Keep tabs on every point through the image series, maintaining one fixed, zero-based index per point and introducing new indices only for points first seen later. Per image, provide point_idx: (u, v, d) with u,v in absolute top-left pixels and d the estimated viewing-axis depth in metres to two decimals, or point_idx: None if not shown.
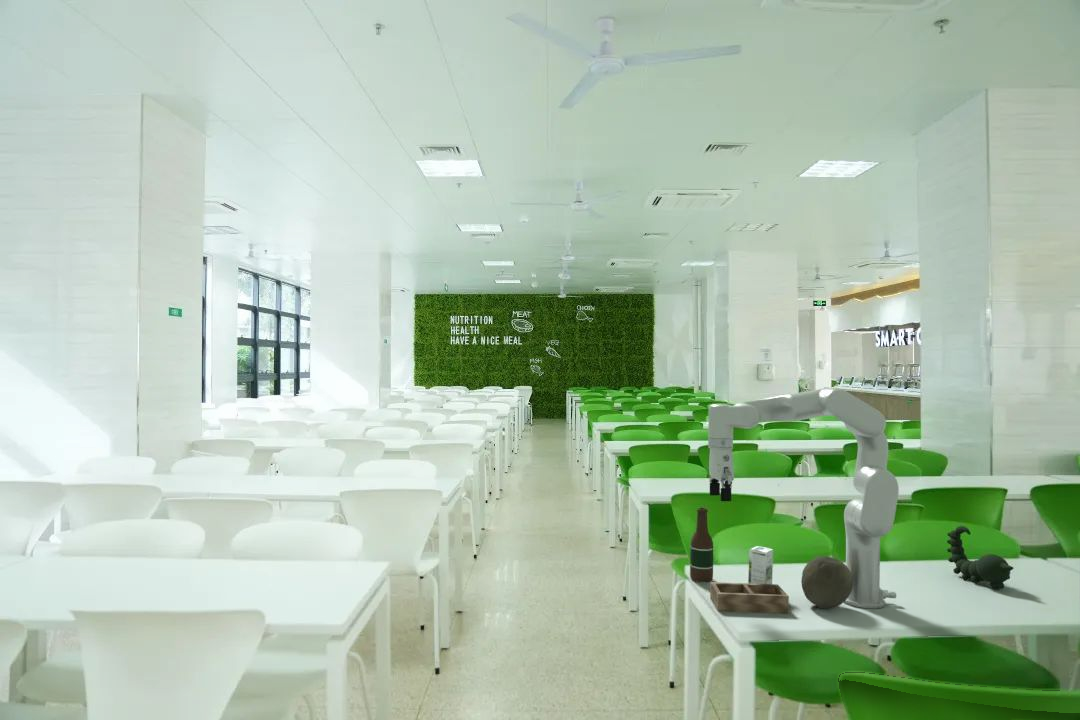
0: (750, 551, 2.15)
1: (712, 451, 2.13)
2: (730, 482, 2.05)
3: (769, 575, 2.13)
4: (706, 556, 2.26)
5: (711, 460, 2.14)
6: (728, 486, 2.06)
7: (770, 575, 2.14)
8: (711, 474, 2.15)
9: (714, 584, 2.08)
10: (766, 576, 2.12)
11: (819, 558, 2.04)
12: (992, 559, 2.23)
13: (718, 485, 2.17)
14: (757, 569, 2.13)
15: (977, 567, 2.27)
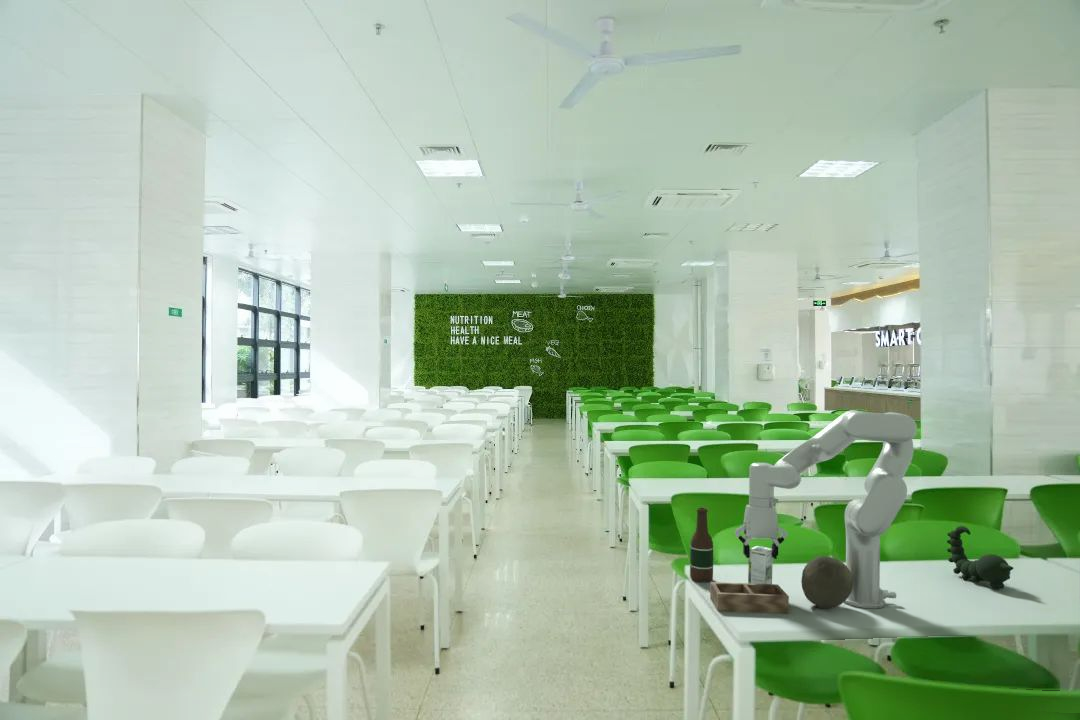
0: (750, 551, 2.15)
1: (762, 511, 2.13)
2: None
3: (769, 575, 2.13)
4: (706, 556, 2.26)
5: (759, 520, 2.13)
6: None
7: (770, 575, 2.14)
8: (756, 535, 2.13)
9: (714, 584, 2.08)
10: (766, 576, 2.12)
11: (819, 558, 2.04)
12: (992, 559, 2.23)
13: None
14: (757, 569, 2.13)
15: (977, 567, 2.27)
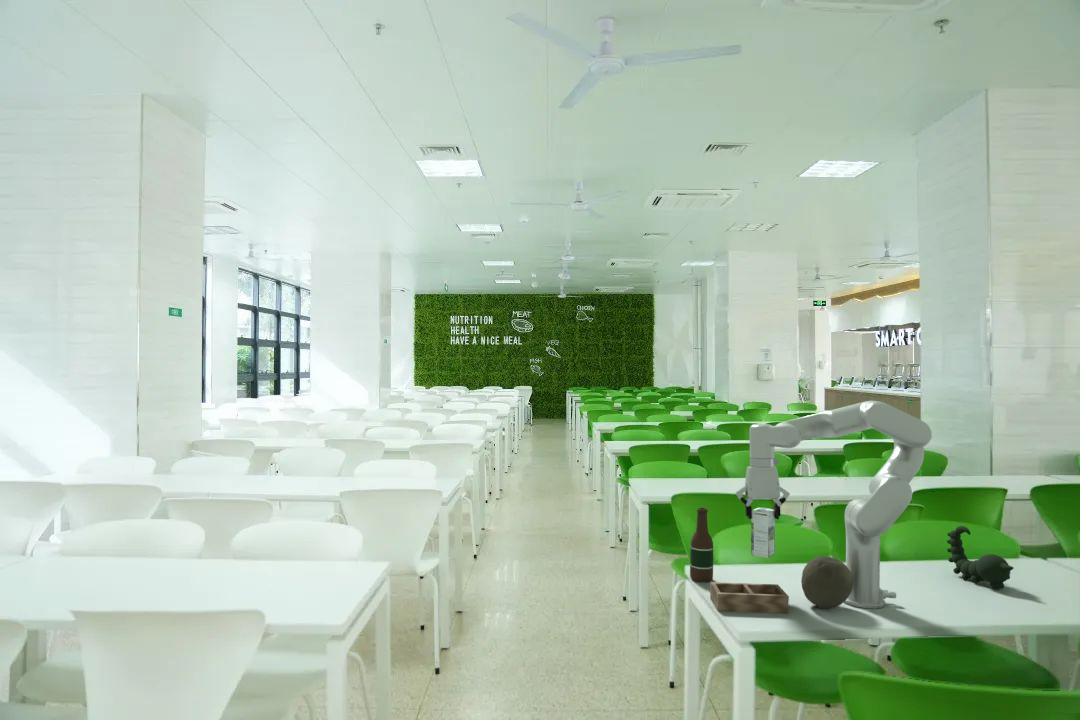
0: (752, 512, 2.15)
1: (763, 472, 2.13)
2: None
3: (771, 535, 2.13)
4: (706, 556, 2.26)
5: (760, 481, 2.13)
6: None
7: (773, 535, 2.14)
8: (757, 495, 2.13)
9: (714, 584, 2.08)
10: (769, 536, 2.12)
11: (819, 558, 2.04)
12: (992, 559, 2.23)
13: None
14: (760, 530, 2.13)
15: (977, 567, 2.27)
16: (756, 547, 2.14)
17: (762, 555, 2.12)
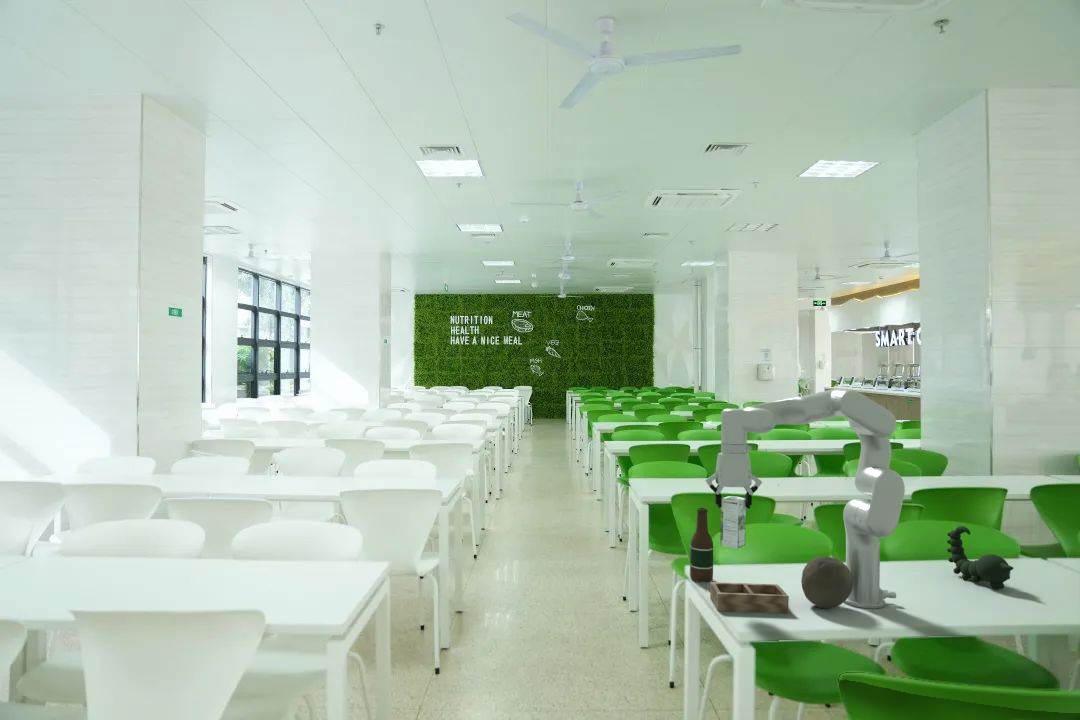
0: (722, 500, 2.05)
1: (734, 458, 2.03)
2: None
3: (742, 525, 2.03)
4: (706, 556, 2.26)
5: (731, 468, 2.03)
6: None
7: (743, 525, 2.04)
8: (728, 483, 2.03)
9: (714, 584, 2.08)
10: (738, 526, 2.02)
11: (819, 558, 2.04)
12: (992, 559, 2.23)
13: None
14: (729, 519, 2.03)
15: (977, 567, 2.27)
16: (725, 537, 2.04)
17: (731, 545, 2.02)
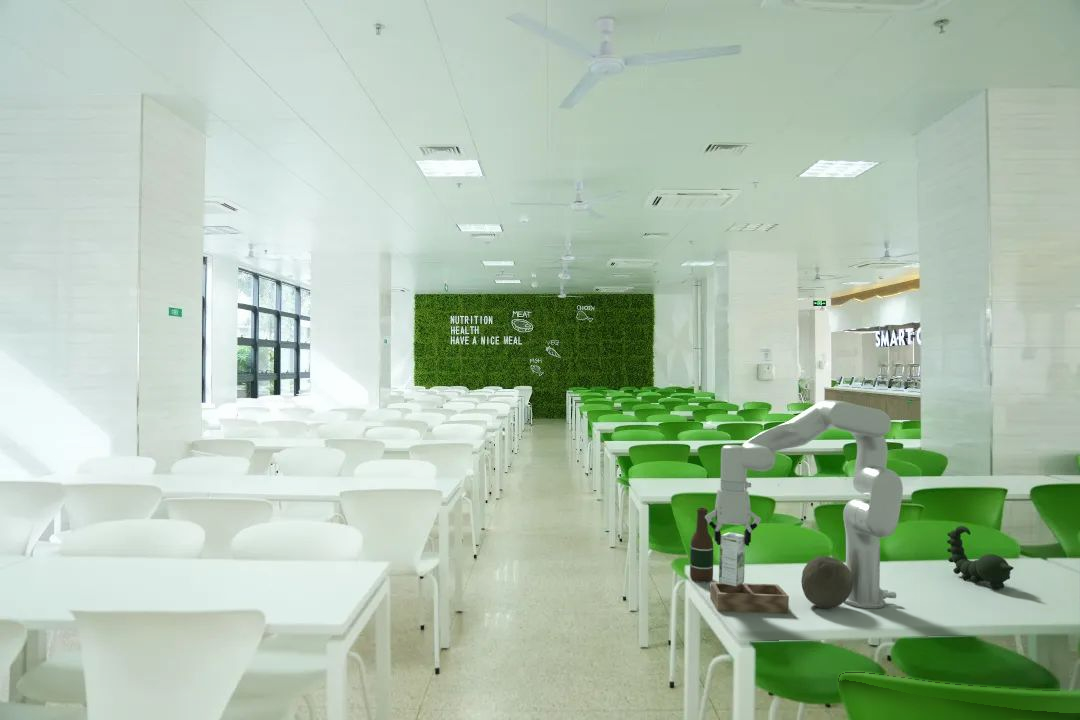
0: (721, 537, 2.04)
1: (734, 496, 2.03)
2: None
3: (740, 562, 2.03)
4: (706, 556, 2.26)
5: (730, 505, 2.03)
6: None
7: (742, 562, 2.04)
8: (727, 520, 2.03)
9: (714, 584, 2.08)
10: (737, 563, 2.02)
11: (819, 558, 2.04)
12: (992, 559, 2.23)
13: None
14: (728, 556, 2.03)
15: (977, 567, 2.27)
16: (724, 575, 2.03)
17: (730, 583, 2.02)
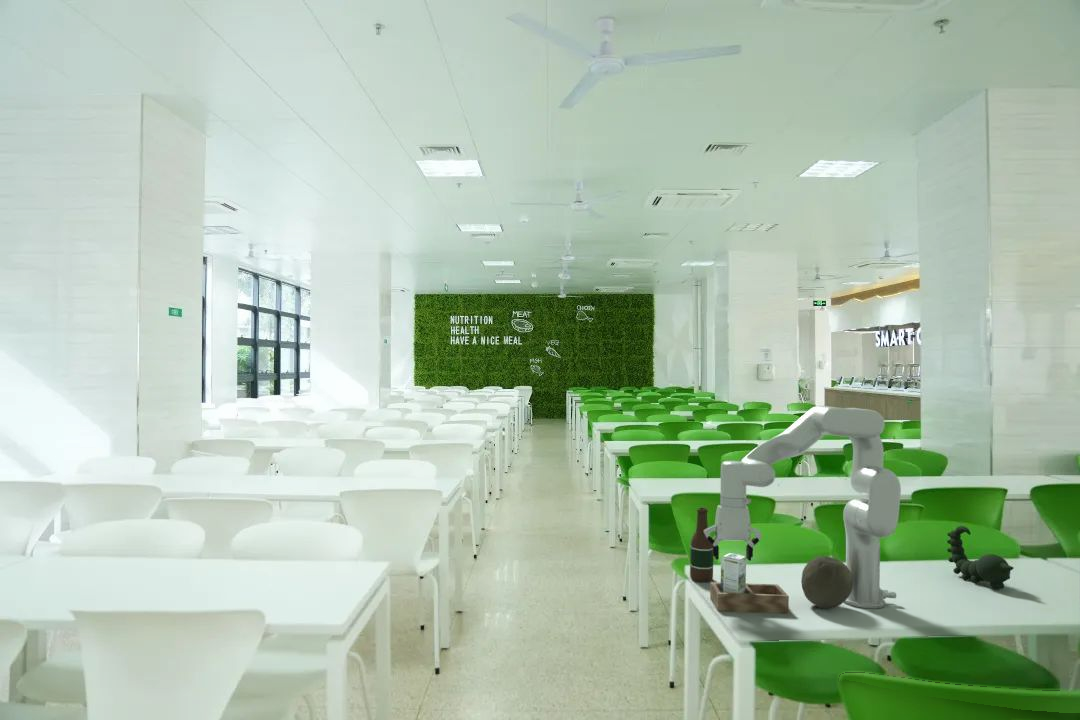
0: (722, 558, 2.04)
1: (734, 512, 2.03)
2: None
3: (742, 583, 2.03)
4: (706, 556, 2.26)
5: (730, 522, 2.03)
6: None
7: (743, 584, 2.04)
8: (727, 537, 2.03)
9: (714, 584, 2.08)
10: (739, 585, 2.02)
11: (819, 558, 2.04)
12: (992, 559, 2.23)
13: None
14: (729, 577, 2.03)
15: (977, 567, 2.27)
16: None
17: None
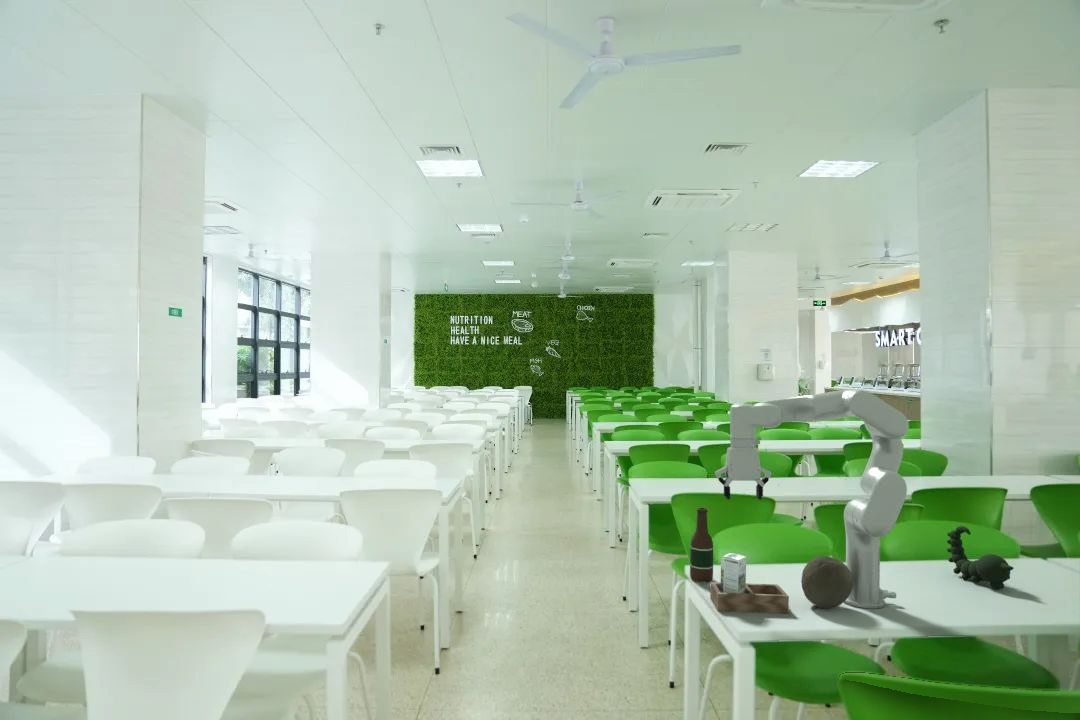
0: (722, 558, 2.04)
1: (744, 452, 2.09)
2: None
3: (742, 583, 2.03)
4: (706, 555, 2.26)
5: (741, 462, 2.09)
6: None
7: (743, 584, 2.04)
8: (738, 477, 2.09)
9: (714, 584, 2.08)
10: (739, 585, 2.02)
11: (819, 558, 2.04)
12: (992, 559, 2.23)
13: None
14: (729, 577, 2.03)
15: (977, 567, 2.27)
16: None
17: None
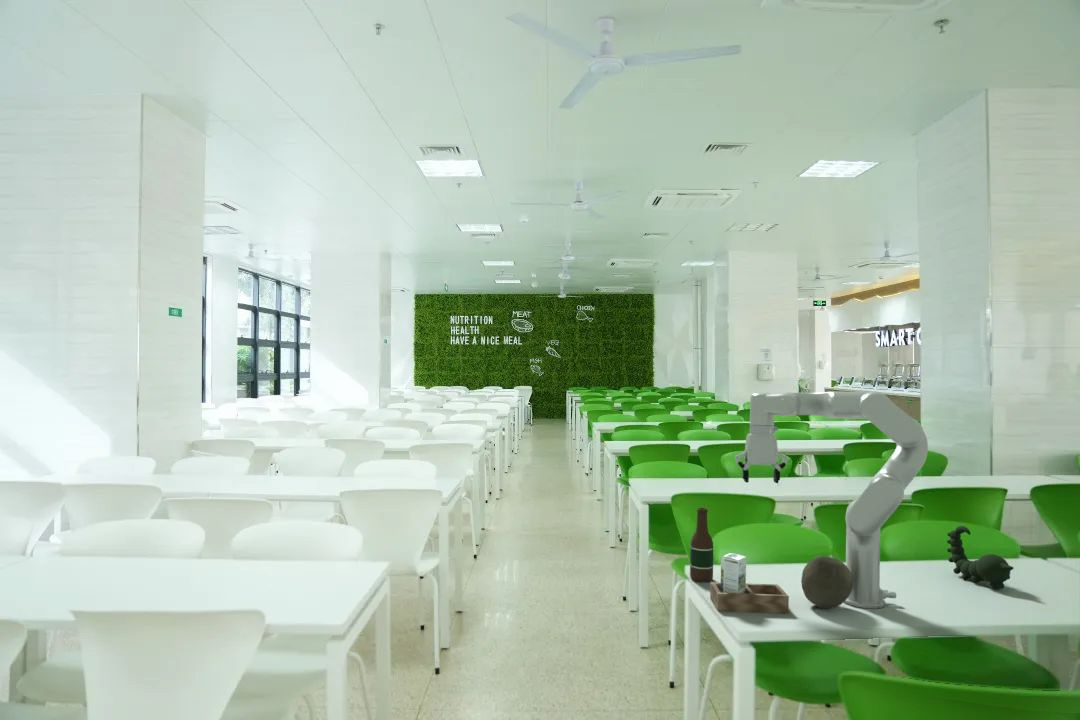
0: (722, 558, 2.04)
1: (763, 438, 2.21)
2: None
3: (742, 583, 2.03)
4: (706, 556, 2.26)
5: (759, 447, 2.21)
6: None
7: (743, 584, 2.04)
8: (756, 461, 2.22)
9: (714, 584, 2.08)
10: (739, 585, 2.02)
11: (819, 558, 2.04)
12: (992, 559, 2.23)
13: None
14: (729, 577, 2.03)
15: (977, 567, 2.27)
16: None
17: None
